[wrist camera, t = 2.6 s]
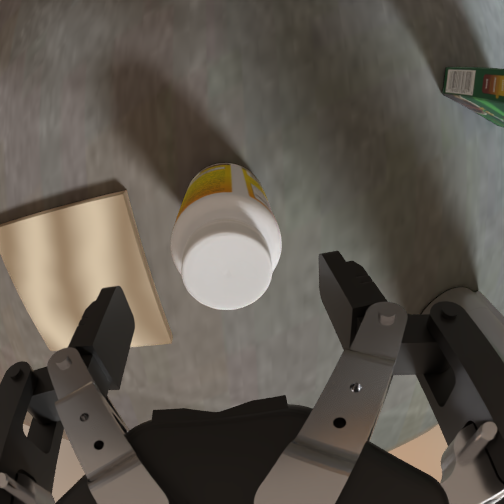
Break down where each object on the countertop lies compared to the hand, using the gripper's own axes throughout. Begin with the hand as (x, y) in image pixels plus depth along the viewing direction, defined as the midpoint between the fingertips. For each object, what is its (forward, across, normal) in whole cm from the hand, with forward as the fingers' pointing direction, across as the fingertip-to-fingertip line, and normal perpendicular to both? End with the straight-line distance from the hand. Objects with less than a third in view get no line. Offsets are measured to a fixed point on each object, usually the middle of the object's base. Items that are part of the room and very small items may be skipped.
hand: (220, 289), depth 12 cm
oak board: (+12, +14, +5) cm, 19 cm away
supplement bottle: (+12, 0, 0) cm, 12 cm away
